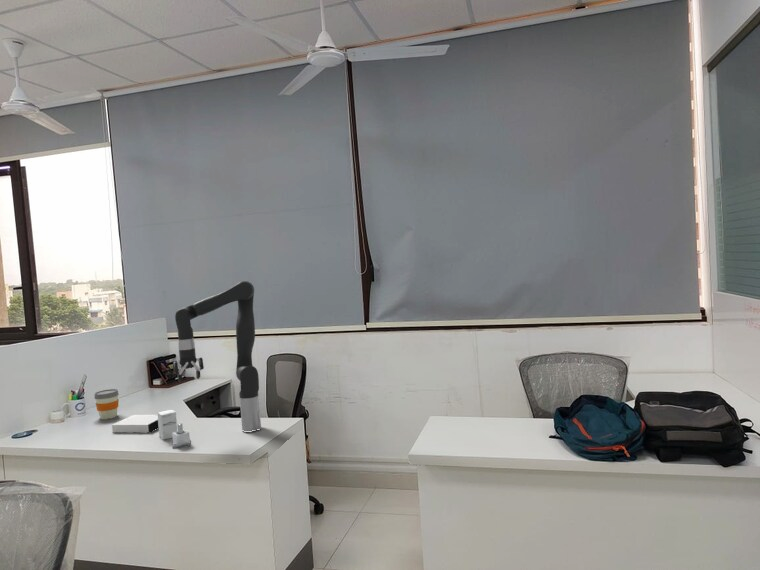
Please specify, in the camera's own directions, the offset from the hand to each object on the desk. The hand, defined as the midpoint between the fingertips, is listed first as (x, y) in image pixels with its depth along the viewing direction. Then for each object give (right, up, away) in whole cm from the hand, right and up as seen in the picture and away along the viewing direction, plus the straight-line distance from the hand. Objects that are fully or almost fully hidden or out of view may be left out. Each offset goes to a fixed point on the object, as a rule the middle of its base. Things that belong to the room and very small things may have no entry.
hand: (189, 380), depth 260 cm
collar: (0, -28, -11) cm, 30 cm away
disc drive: (-34, -30, +22) cm, 50 cm away
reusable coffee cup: (-65, -30, +48) cm, 86 cm away
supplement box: (-12, -29, +3) cm, 31 cm away
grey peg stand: (0, -29, -11) cm, 31 cm away
